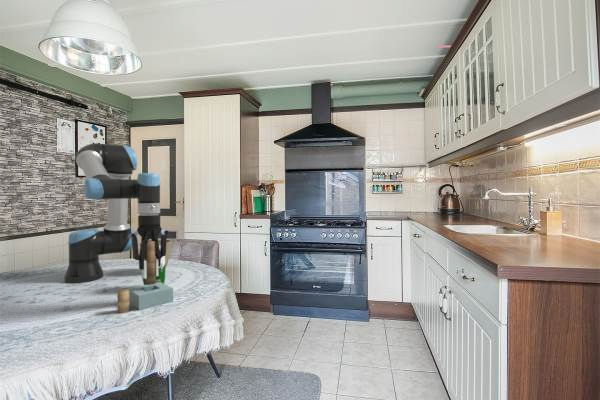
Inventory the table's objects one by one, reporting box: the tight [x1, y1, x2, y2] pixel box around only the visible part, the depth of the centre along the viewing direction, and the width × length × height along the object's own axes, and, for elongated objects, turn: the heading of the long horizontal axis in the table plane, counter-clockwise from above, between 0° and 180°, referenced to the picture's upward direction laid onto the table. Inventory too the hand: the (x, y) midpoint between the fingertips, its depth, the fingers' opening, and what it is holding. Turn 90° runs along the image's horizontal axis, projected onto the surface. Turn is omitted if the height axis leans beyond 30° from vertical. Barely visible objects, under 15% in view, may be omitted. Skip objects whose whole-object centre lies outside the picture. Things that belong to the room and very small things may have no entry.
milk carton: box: [142, 245, 166, 285], centre depth 131 cm, size 9×9×20 cm
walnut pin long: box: [145, 239, 156, 285], centre depth 115 cm, size 4×4×16 cm
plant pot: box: [139, 239, 173, 271], centre depth 157 cm, size 15×15×16 cm
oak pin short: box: [116, 288, 131, 314], centre depth 106 cm, size 4×4×7 cm
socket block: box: [127, 282, 174, 311], centre depth 116 cm, size 12×12×5 cm
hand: (150, 276), depth 115 cm, fingers closed on walnut pin long, 3 cm apart
